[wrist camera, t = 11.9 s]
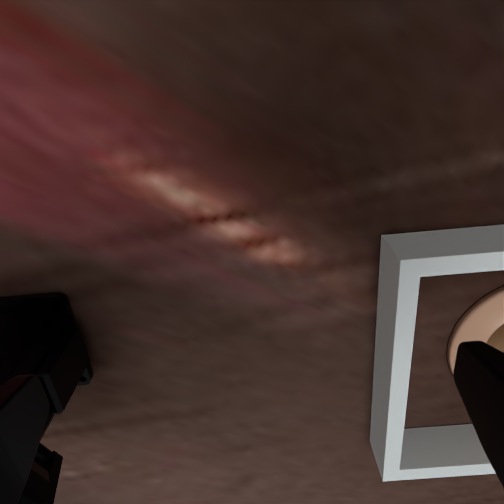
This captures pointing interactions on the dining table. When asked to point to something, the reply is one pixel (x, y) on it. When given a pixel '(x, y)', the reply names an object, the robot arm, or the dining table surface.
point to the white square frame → (401, 344)
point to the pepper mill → (497, 339)
